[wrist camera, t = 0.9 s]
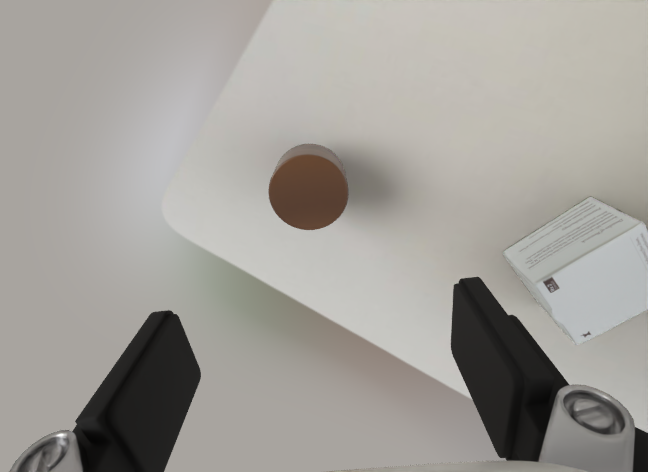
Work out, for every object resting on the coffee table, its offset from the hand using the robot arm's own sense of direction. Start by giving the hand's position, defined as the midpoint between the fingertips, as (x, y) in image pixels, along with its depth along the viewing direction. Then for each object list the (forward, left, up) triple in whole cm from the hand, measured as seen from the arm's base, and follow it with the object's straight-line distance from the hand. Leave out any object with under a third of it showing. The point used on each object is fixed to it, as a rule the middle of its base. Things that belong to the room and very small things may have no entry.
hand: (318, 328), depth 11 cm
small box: (+9, +19, -16) cm, 27 cm away
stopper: (-1, -1, -16) cm, 16 cm away
